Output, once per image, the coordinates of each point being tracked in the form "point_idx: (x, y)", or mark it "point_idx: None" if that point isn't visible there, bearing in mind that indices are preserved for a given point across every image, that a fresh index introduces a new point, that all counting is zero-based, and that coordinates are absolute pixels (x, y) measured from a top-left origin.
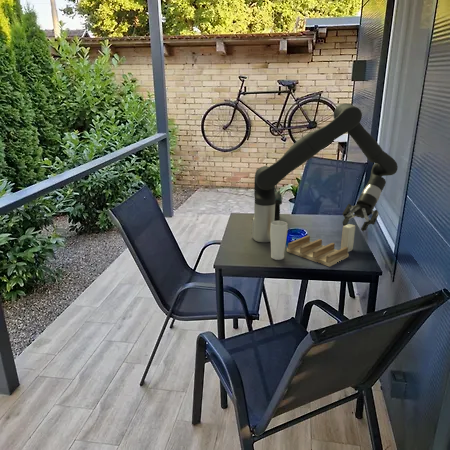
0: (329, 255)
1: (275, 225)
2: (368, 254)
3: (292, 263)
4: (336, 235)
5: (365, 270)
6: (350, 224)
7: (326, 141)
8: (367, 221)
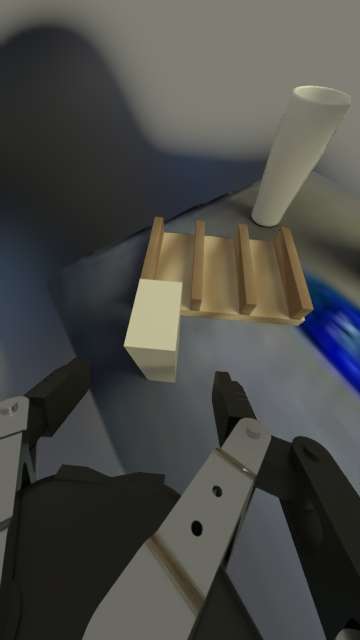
0: (158, 222)
1: (308, 86)
2: None
3: (223, 216)
4: None
5: (72, 266)
6: (161, 346)
7: None
8: (9, 399)
